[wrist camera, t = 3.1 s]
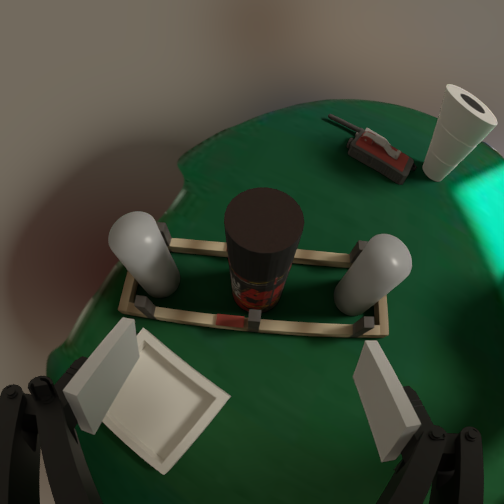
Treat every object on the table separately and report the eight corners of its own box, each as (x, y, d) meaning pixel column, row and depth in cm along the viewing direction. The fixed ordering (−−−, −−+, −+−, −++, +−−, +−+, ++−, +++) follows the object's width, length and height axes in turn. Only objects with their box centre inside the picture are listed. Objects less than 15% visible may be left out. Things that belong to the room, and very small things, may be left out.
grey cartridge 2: (344, 271, 36) (376, 225, 26) (375, 291, 34) (417, 251, 25) (326, 302, 34) (357, 262, 24) (359, 323, 32) (402, 291, 23)
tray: (149, 332, 31) (143, 327, 29) (231, 396, 28) (230, 396, 26) (93, 402, 27) (84, 402, 24) (169, 470, 23) (163, 475, 21)
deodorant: (222, 294, 34) (207, 224, 21) (251, 258, 36) (255, 176, 23) (262, 323, 32) (275, 269, 19) (290, 284, 35) (318, 212, 21)
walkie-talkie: (415, 166, 47) (329, 118, 52) (425, 151, 43) (333, 101, 48) (405, 192, 43) (309, 137, 49) (416, 175, 39) (313, 118, 45)
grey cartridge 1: (160, 254, 36) (134, 203, 26) (188, 275, 35) (167, 227, 25) (135, 282, 34) (99, 239, 24) (162, 306, 33) (130, 267, 23)
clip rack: (378, 262, 36) (393, 244, 32) (383, 337, 31) (402, 327, 27) (141, 240, 37) (130, 220, 33) (122, 313, 32) (105, 300, 28)
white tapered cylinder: (402, 149, 48) (435, 77, 32) (441, 157, 48) (476, 94, 33) (421, 190, 43) (467, 114, 27) (460, 196, 43) (507, 132, 28)
